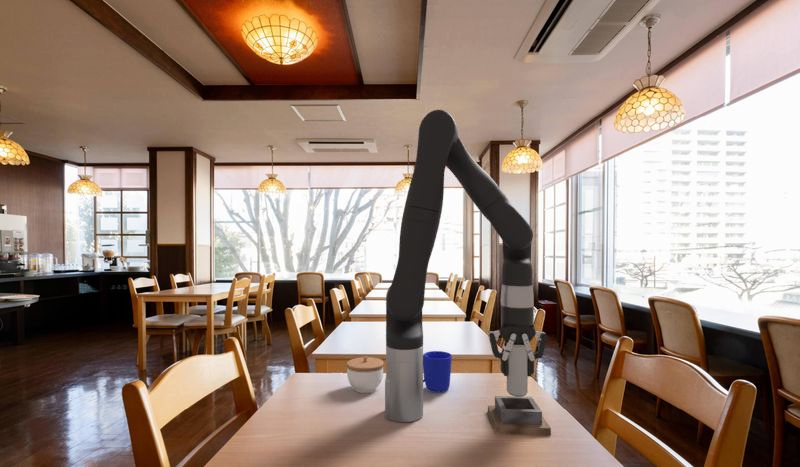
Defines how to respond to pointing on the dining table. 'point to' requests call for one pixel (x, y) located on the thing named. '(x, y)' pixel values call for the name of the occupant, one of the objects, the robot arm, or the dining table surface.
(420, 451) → the dining table surface
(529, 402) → the can holder
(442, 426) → the dining table surface
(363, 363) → the lidded jar
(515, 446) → the dining table surface
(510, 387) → the beverage can
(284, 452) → the dining table surface
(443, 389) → the mug
